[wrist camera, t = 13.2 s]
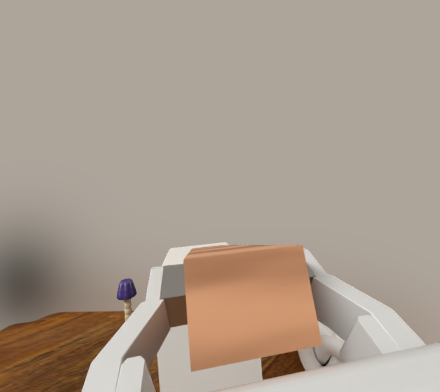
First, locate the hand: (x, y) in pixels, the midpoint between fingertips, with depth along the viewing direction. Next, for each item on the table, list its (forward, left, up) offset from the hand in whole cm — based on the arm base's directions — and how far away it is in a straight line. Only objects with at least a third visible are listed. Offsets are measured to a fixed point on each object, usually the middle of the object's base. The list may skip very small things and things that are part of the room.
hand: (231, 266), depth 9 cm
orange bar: (+7, +2, -4) cm, 8 cm away
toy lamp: (+41, +32, -32) cm, 61 cm away
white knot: (+34, -15, -32) cm, 49 cm away
